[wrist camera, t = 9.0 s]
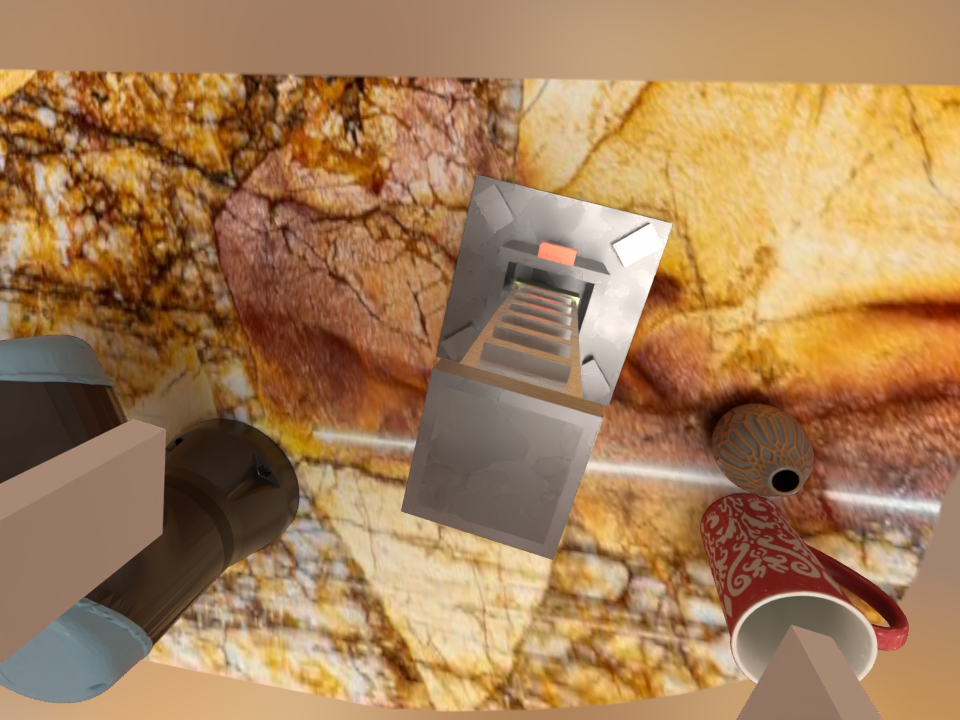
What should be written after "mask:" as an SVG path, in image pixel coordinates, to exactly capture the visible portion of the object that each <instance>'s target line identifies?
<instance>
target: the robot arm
mask: <svg viewBox="0 0 960 720" xmlns="http://www.w3.org/2000/svg"><path fill="white" fill-rule="evenodd" d="M114 387H115V384H114V382H112V381H111V380H109V379H108V377H107V375H106V373H105V372H104V370H103V368H102V366H101V364H100V362H99V360H98V358H97V356H96V354H95V352H94V350H93V349H92V347H91V346H90V345H89V344H88V343H86V342H85V341H84V340H82V339H80V338H77V337H74V336H70V335H47V336H36V337H26V338H17V339H9V340H1V341H0V685H2V686H3V687H5V688H8V689H9V690H12V691H15V692H16V693H19V694H21V695H24V696H26V697H29V698H33V699H37V700H41V701H45V702H52V703H75V702H81V701H85V700H88V699H91V698H93V697H96V696H98V695H100V694H102V693H103V692H105V691H106V690H108V689H109V688H110V687H111V686H113V684H115V683H116V682H117V681H118V680H119V679H120V678H121V677H122V676H124V674H126V673H127V672H128V671H129V670H130V669H131V668H132V667H133V666H134V665H135V664H137V663H138V662H139V661H140V660H142V659H144V658H145V657H146V656H147V655H148V654H149V653H150V651H151V649H152V648H153V646H154V645H155V644H156V643H157V642H158V641H159V640H160V639H161V637H162V636H163V635H164V634H165V633H166V632H167V631H168V630H169V629H170V628H171V627H172V626H173V625H174V624H175V623H176V622H177V620H178V619H179V618H180V617H181V616H182V615H183V614H184V613H185V612H186V611H187V610H188V609H189V608H190V607H191V606H192V604H193V603H194V602H195V601H196V600H197V599H198V598H199V597H200V596H201V595H202V594H203V593H204V592H205V591H206V590H207V589H208V587H209V586H210V585H211V584H212V583H213V582H214V581H215V580H216V579H217V578H218V577H219V576H220V575H221V574H222V573H223V571H224V570H225V569H226V568H227V567H229V566H231V565H233V564H235V563H237V562H238V561H240V560H242V559H244V558H246V557H247V556H249V555H251V554H253V553H255V552H257V551H260V550H262V549H264V548H266V547H268V546H269V545H270V544H272V543H273V542H274V541H275V540H276V539H278V537H279V536H280V535H281V534H282V533H283V532H284V531H285V530H286V528H287V527H288V526H289V525H290V524H291V522H292V521H293V519H294V517H295V514H296V512H297V508H298V502H299V490H298V484H297V480H296V476H295V474H294V471H293V469H292V467H291V465H290V463H289V461H288V460H287V458H286V457H285V455H284V454H283V453H282V451H281V450H280V449H279V448H278V447H277V446H276V445H275V444H274V443H273V442H272V441H271V440H270V439H269V438H268V437H266V436H265V435H264V434H262V433H261V432H259V431H257V430H256V429H254V428H252V427H250V426H248V425H245V424H242V423H239V422H236V421H231V420H222V419H217V420H209V421H205V422H201V423H199V424H197V425H195V426H193V427H191V428H190V429H188V430H186V431H184V432H183V433H181V434H180V435H178V436H177V437H175V438H174V439H173V440H172V441H171V442H170V443H169V444H168V445H167V447H166V429H165V428H161V427H158V426H155V425H152V424H149V423H145V422H142V421H139V420H136V419H132V420H130V421H128V420H127V418H126V416H125V413H124V411H123V409H122V406H121V404H120V402H119V400H118V397H117V395H116V393H115V390H114ZM165 447H166V448H165ZM737 720H883V719H882V717H881V716H880V714H879V713H878V711H877V709H876V708H875V706H874V705H873V703H872V701H871V700H870V698H869V696H868V695H867V693H866V691H865V690H864V688H863V687H862V685H861V684H860V682H859V680H858V679H857V677H856V675H855V674H854V672H853V670H852V669H851V667H850V666H849V664H848V662H847V661H846V659H845V657H844V656H843V654H842V653H841V651H840V649H839V648H838V646H837V645H836V643H835V641H834V640H833V638H832V637H829V636H826V635H823V634H819V633H816V632H813V631H810V630H807V629H803V628H800V627H797V626H794V625H791V626H790V628H789V629H788V631H787V633H786V635H785V636H784V638H783V640H782V642H781V643H780V645H779V647H778V648H777V650H776V652H775V654H774V655H773V657H772V659H771V661H770V662H769V664H768V666H767V668H766V669H765V671H764V673H763V674H762V676H761V678H760V680H759V681H758V683H757V685H756V687H755V688H754V690H753V692H752V694H751V695H750V697H749V699H748V700H747V702H746V704H745V706H744V707H743V709H742V711H741V713H740V714H739V716H738V718H737Z"/></svg>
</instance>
